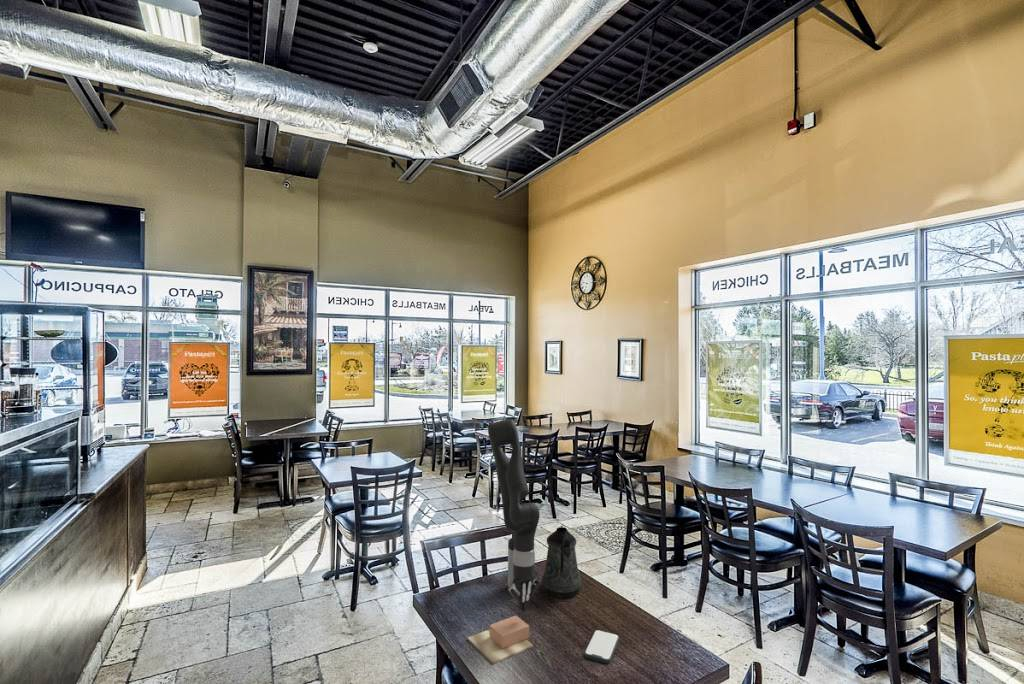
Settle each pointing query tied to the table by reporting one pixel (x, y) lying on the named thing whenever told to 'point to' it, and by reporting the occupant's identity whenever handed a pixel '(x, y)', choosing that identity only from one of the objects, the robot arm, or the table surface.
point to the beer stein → (561, 565)
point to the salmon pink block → (509, 631)
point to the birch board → (497, 647)
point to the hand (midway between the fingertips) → (523, 610)
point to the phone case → (601, 646)
